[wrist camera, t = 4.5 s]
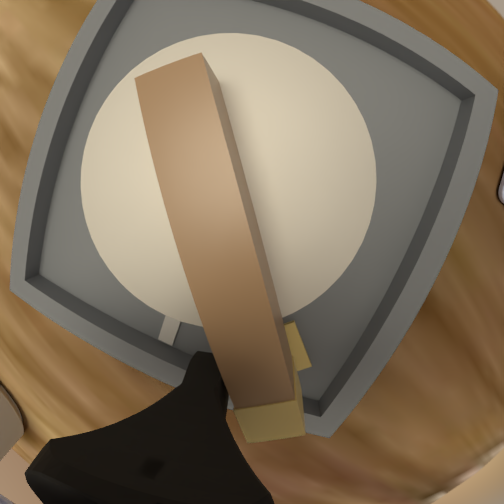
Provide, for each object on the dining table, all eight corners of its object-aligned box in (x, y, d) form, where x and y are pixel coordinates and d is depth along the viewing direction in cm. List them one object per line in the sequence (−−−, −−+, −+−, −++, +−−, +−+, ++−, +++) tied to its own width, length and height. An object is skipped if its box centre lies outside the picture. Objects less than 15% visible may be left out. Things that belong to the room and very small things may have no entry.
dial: (316, 32, 9) (334, -32, 5) (387, 338, 12) (426, 400, 8) (88, 107, 11) (20, 87, 6) (173, 380, 13) (141, 445, 9)
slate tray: (473, 99, 10) (498, 90, 8) (324, 410, 15) (329, 438, 12) (144, -23, 10) (128, -44, 8) (33, 278, 14) (9, 290, 12)
